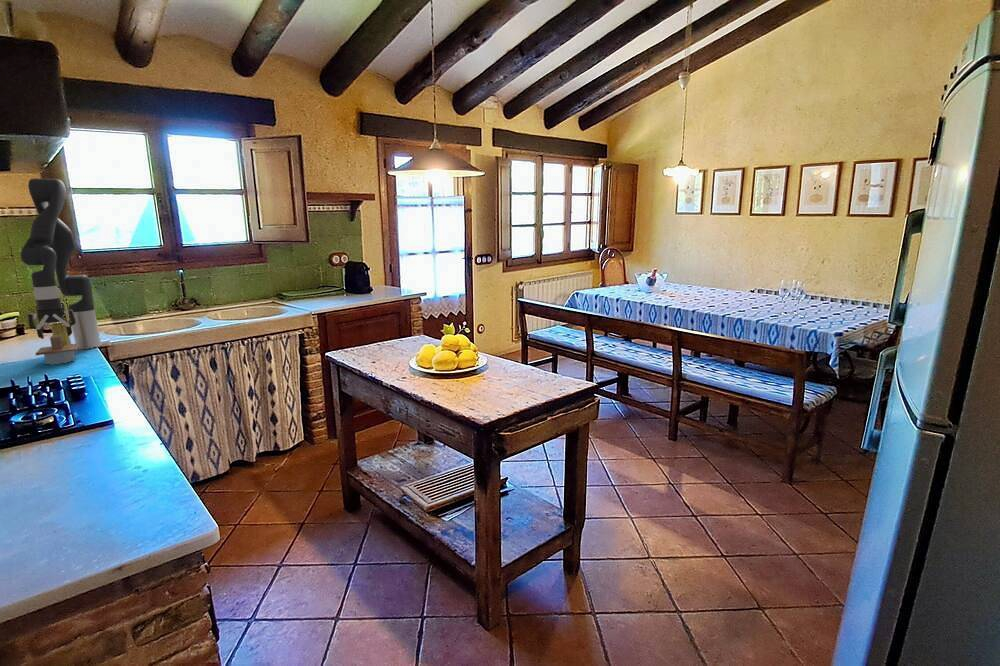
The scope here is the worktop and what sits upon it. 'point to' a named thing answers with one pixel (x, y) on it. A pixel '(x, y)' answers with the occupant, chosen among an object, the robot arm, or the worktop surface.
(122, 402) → the worktop surface
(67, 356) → the bowl
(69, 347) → the lid
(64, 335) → the vase
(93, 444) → the worktop surface
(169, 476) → the worktop surface
